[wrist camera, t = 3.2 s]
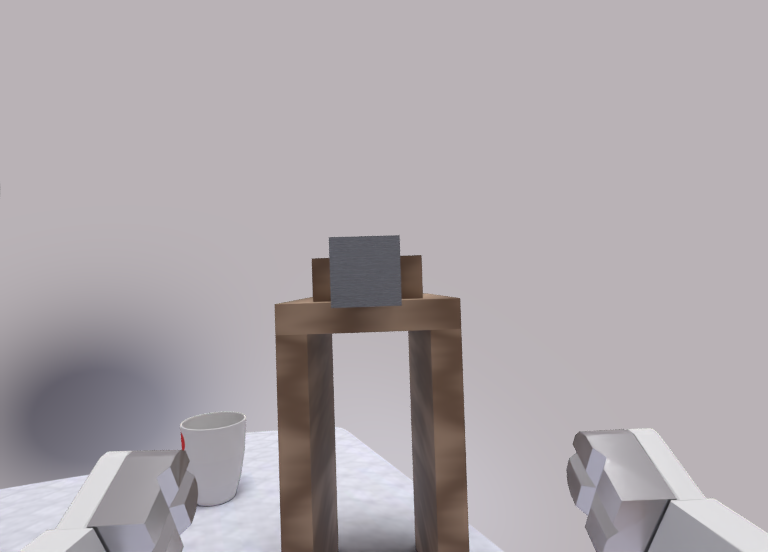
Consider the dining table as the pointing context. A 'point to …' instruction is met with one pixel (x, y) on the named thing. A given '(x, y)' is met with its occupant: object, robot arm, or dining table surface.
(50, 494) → the dining table surface
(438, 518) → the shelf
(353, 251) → the bar
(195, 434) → the cup
